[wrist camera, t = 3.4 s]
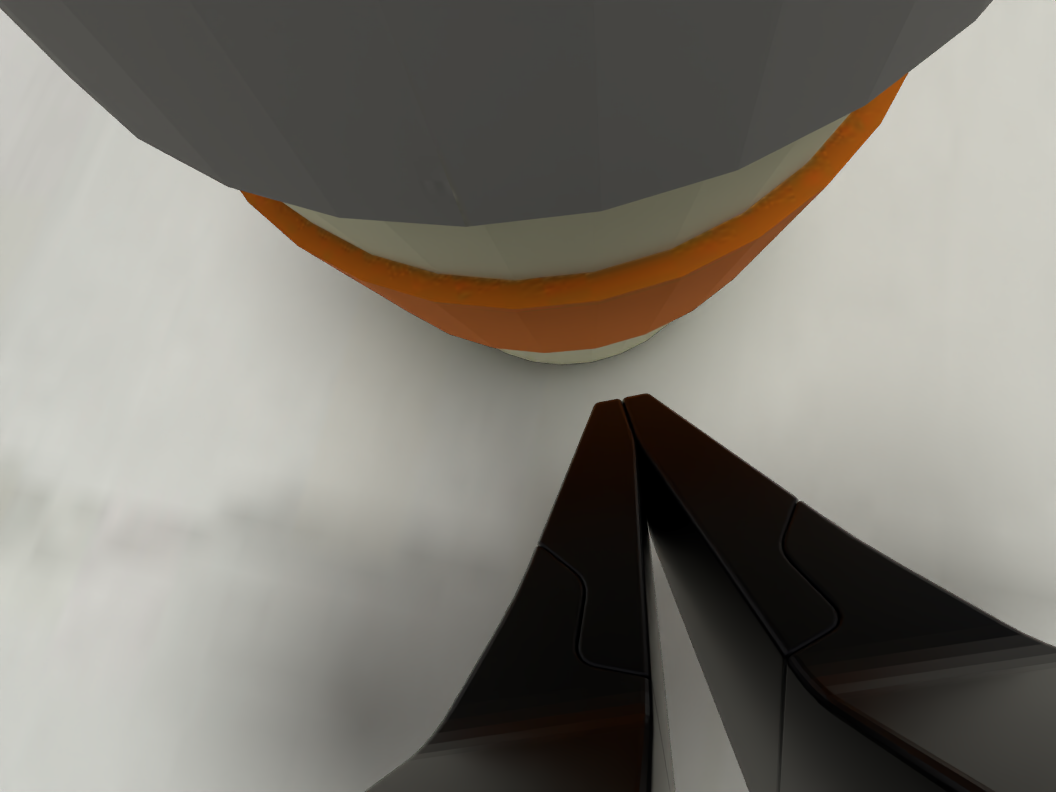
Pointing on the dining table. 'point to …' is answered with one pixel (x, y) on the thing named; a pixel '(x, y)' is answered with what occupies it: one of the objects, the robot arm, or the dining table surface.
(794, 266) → the dining table surface
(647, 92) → the reusable coffee cup
